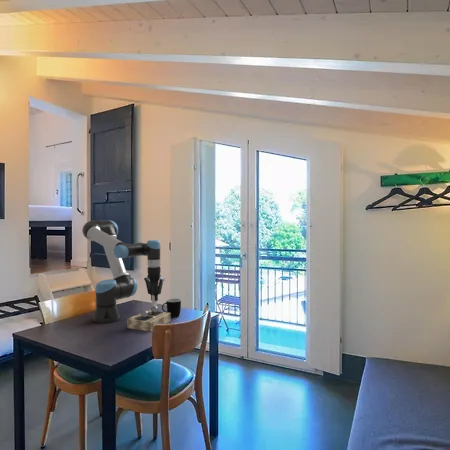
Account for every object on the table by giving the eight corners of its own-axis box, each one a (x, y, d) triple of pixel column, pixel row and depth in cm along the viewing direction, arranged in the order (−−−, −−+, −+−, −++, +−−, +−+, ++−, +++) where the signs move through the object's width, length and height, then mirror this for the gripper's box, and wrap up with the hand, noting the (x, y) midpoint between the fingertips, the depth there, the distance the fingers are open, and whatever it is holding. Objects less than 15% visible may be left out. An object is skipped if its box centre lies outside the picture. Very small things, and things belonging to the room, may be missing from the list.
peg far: (150, 315, 207) (150, 307, 207) (153, 313, 211) (153, 305, 210) (155, 316, 206) (155, 308, 206) (158, 314, 209) (158, 306, 209)
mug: (182, 314, 224) (182, 298, 224) (179, 318, 215) (179, 302, 215) (164, 313, 225) (164, 298, 225) (160, 318, 216) (159, 301, 216)
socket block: (127, 327, 198) (127, 318, 198) (148, 318, 216) (148, 309, 216) (150, 331, 192) (150, 321, 191) (170, 321, 210) (170, 312, 210)
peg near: (139, 320, 198) (139, 311, 198) (143, 318, 201) (143, 310, 201) (144, 320, 197) (144, 312, 197) (148, 319, 200) (148, 310, 200)
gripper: (140, 266, 206) (141, 306, 207) (159, 268, 201) (160, 308, 202) (148, 265, 213) (149, 303, 214) (166, 266, 208) (167, 305, 209)
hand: (154, 306), depth 208 cm, fingers closed
